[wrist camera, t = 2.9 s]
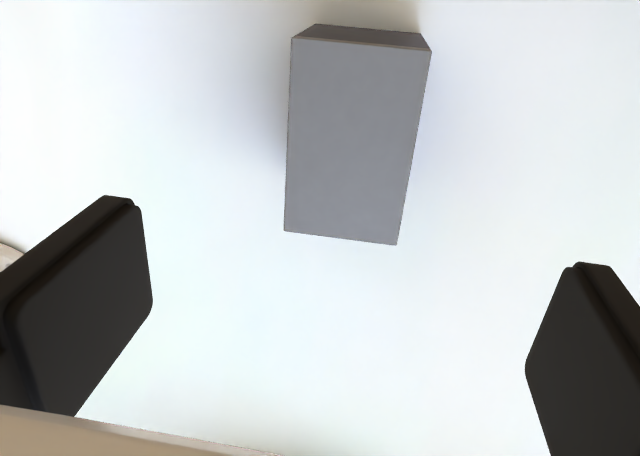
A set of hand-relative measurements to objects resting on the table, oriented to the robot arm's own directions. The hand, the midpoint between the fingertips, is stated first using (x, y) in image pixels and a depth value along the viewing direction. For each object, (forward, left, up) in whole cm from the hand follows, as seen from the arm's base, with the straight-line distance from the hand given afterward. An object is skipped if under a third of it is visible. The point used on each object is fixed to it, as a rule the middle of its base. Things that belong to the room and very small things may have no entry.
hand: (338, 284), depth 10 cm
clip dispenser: (0, 0, -15) cm, 15 cm away
